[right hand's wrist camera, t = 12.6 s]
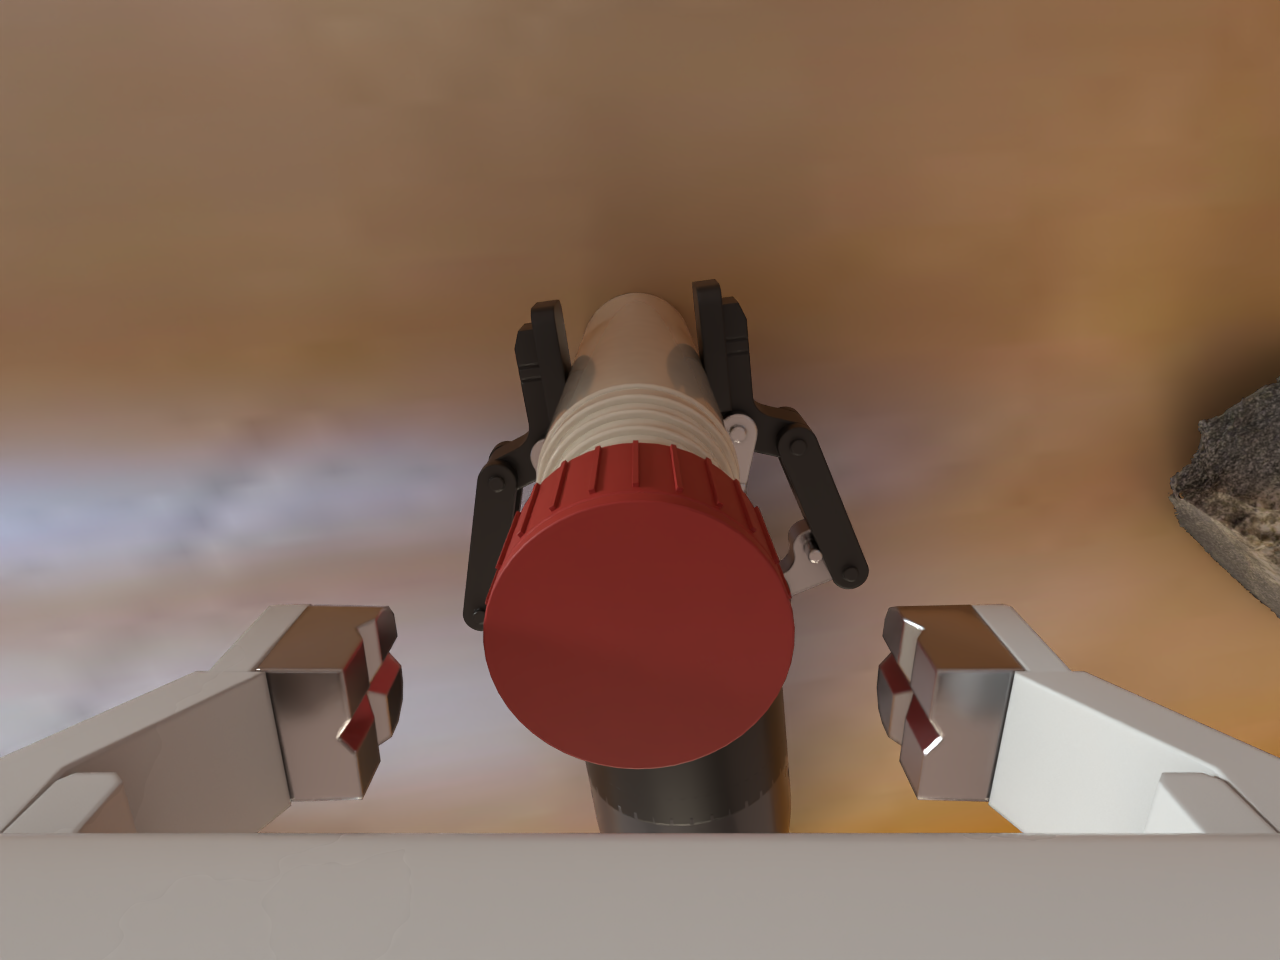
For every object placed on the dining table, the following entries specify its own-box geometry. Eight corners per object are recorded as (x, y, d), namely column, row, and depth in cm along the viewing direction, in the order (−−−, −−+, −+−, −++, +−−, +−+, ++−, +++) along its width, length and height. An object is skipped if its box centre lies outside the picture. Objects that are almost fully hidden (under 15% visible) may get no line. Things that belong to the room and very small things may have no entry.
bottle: (638, 268, 28) (642, 419, 9) (713, 348, 29) (855, 631, 10) (560, 346, 29) (421, 626, 10) (636, 421, 30) (635, 799, 11)
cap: (641, 380, 11) (643, 427, 9) (823, 564, 12) (864, 647, 10) (453, 559, 12) (412, 641, 10) (636, 715, 13) (637, 821, 11)
